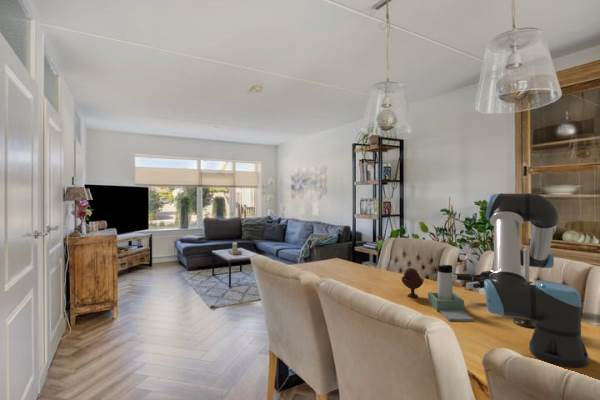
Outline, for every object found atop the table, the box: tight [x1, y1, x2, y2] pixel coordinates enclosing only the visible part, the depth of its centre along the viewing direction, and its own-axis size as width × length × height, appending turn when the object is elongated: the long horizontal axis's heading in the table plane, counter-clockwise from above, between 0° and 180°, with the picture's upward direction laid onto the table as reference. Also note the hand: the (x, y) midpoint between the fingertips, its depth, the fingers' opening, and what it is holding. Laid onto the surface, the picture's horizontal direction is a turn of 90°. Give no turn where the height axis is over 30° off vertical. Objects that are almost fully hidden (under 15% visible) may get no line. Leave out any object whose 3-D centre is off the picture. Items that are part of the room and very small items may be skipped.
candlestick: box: [512, 237, 536, 329], centre depth 131 cm, size 11×11×35 cm
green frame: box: [427, 291, 465, 312], centre depth 152 cm, size 12×12×5 cm
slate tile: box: [439, 310, 474, 322], centre depth 140 cm, size 10×10×1 cm
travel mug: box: [437, 264, 454, 300], centre depth 152 cm, size 6×7×20 cm
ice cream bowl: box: [401, 267, 425, 299], centre depth 168 cm, size 11×11×15 cm
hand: (455, 282), depth 154 cm, fingers open, 13 cm apart
